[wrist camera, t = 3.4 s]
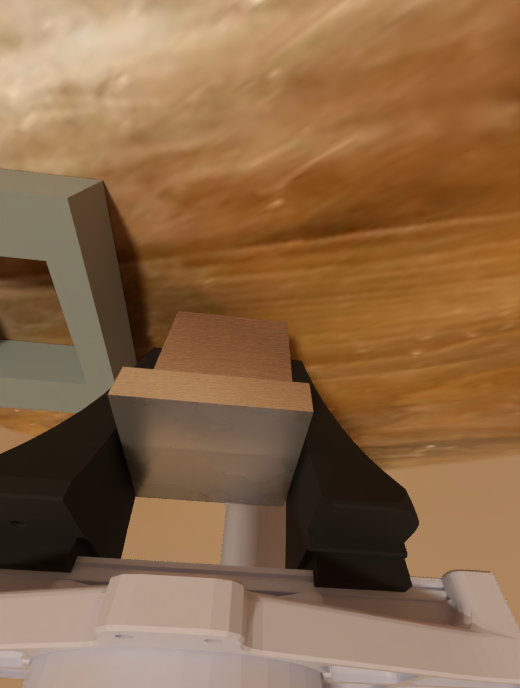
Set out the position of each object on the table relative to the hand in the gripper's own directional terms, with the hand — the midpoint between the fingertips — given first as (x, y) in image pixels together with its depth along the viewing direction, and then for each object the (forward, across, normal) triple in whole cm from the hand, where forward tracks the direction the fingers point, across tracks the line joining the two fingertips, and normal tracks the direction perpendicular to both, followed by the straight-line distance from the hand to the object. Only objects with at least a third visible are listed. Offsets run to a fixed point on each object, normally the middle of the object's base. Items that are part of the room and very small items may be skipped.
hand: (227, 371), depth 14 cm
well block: (+5, +11, 0) cm, 12 cm away
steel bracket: (+2, 0, 0) cm, 2 cm away
